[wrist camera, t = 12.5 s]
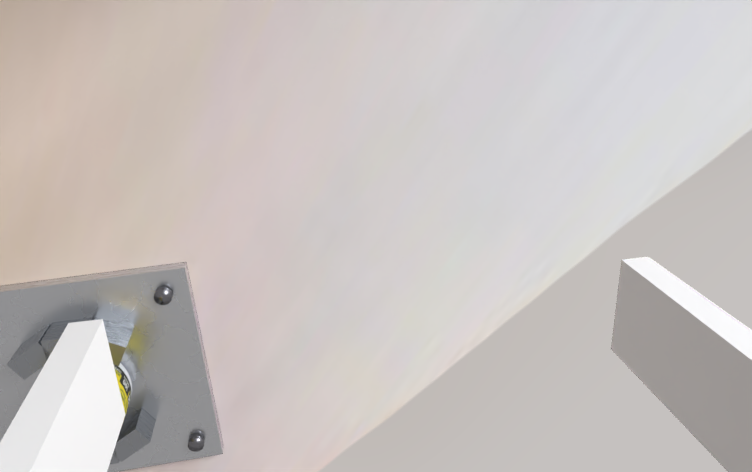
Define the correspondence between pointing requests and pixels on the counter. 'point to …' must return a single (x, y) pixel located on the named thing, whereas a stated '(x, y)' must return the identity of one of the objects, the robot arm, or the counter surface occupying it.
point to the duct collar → (121, 356)
